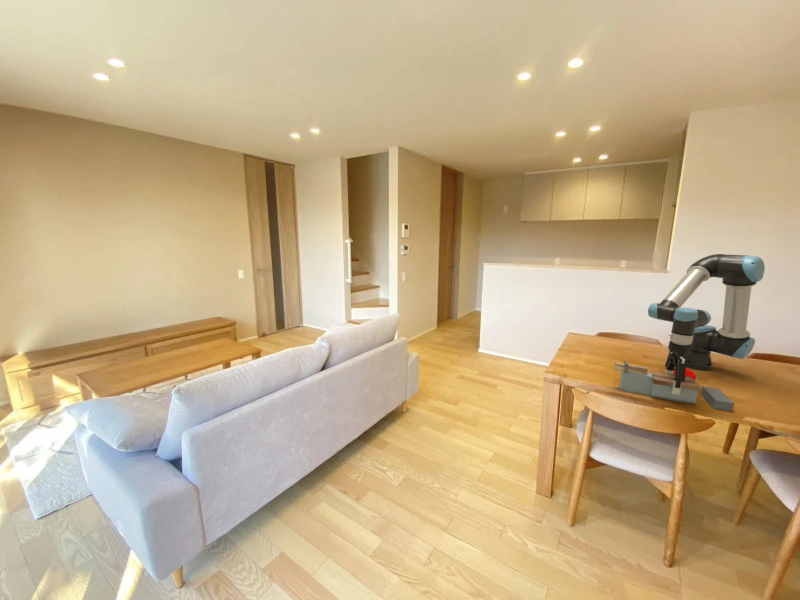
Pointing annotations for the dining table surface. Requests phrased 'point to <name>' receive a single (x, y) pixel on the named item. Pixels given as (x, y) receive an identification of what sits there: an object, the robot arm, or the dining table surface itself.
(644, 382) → the grey block with peg
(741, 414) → the dining table surface
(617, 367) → the bar
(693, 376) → the ball
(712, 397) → the block
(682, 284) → the robot arm
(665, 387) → the open box
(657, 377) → the lid
